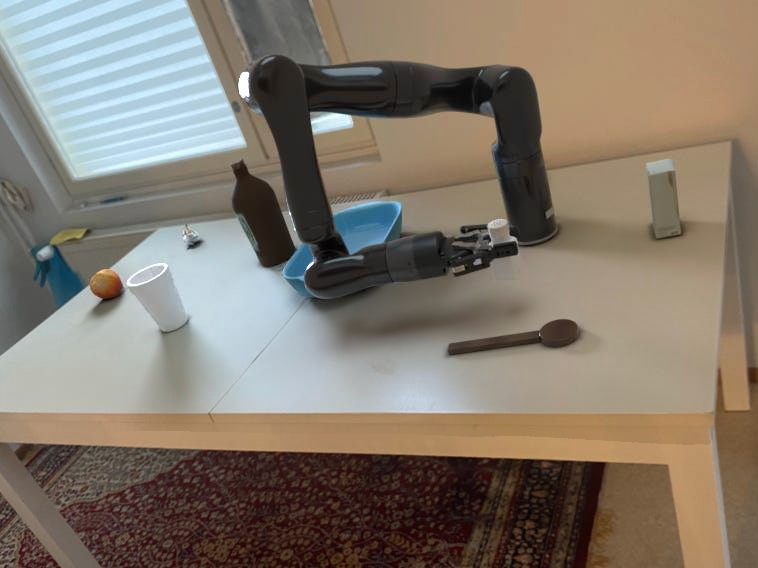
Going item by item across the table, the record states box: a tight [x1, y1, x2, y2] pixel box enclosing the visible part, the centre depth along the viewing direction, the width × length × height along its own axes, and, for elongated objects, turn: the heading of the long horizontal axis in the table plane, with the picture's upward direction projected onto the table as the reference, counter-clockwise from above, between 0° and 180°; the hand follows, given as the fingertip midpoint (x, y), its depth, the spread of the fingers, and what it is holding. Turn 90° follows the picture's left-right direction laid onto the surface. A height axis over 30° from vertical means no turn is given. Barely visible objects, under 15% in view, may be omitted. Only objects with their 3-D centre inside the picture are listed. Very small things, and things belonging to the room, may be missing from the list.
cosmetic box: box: [645, 157, 682, 239], centre depth 124 cm, size 6×4×12 cm
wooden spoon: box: [447, 318, 580, 356], centre depth 112 cm, size 21×6×1 cm, turn 79°
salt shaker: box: [487, 218, 523, 281], centre depth 114 cm, size 4×4×10 cm
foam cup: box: [126, 263, 189, 333], centre depth 155 cm, size 10×9×13 cm
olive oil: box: [229, 158, 297, 267], centre depth 167 cm, size 11×11×25 cm
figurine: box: [182, 223, 199, 246], centre depth 201 cm, size 5×4×6 cm
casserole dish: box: [281, 200, 403, 299], centre depth 154 cm, size 37×22×7 cm, turn 166°
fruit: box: [89, 268, 125, 300], centre depth 186 cm, size 8×8×8 cm
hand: (517, 240), depth 113 cm, fingers closed on salt shaker, 4 cm apart
